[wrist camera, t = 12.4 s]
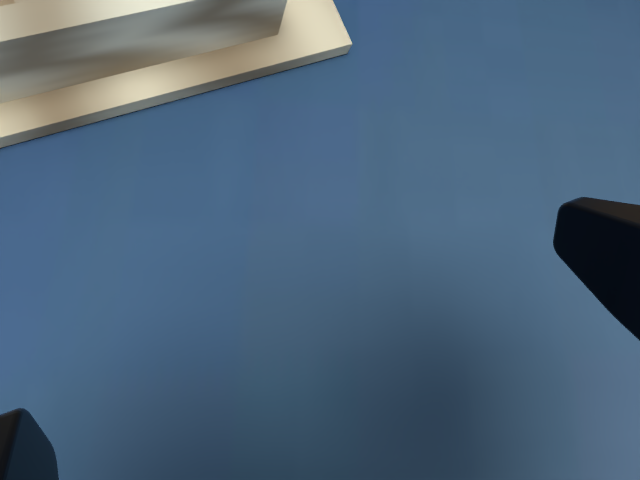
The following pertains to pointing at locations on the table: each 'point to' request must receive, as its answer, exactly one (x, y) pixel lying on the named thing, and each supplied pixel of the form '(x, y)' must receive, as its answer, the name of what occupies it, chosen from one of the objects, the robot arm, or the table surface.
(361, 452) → the table surface
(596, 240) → the robot arm
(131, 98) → the bottle holder
